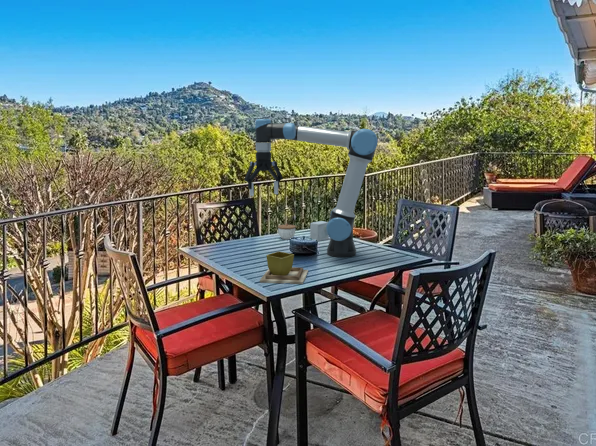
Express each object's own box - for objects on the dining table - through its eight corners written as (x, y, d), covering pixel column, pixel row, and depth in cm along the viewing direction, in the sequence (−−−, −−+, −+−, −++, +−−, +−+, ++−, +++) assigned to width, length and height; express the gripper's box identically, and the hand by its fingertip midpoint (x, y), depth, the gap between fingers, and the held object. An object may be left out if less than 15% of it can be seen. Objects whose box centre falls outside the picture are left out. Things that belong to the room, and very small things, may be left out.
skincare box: (317, 241, 264) (318, 224, 262) (309, 240, 268) (309, 222, 266) (329, 238, 271) (329, 221, 269) (321, 237, 275) (321, 220, 274)
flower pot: (294, 274, 193) (294, 254, 192) (282, 279, 186) (281, 258, 185) (278, 270, 198) (278, 251, 197) (266, 275, 191) (265, 255, 190)
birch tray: (308, 272, 200) (308, 266, 200) (302, 284, 182) (302, 278, 182) (268, 270, 203) (268, 265, 202) (259, 282, 185) (259, 276, 185)
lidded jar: (293, 240, 266) (293, 225, 265) (276, 239, 268) (275, 224, 267) (297, 237, 276) (297, 222, 275) (280, 236, 279) (280, 221, 277)
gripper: (281, 151, 228) (282, 192, 231) (236, 151, 215) (237, 195, 218) (289, 151, 221) (289, 194, 225) (243, 152, 208) (244, 197, 212)
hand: (264, 195), depth 222 cm, fingers open, 13 cm apart
